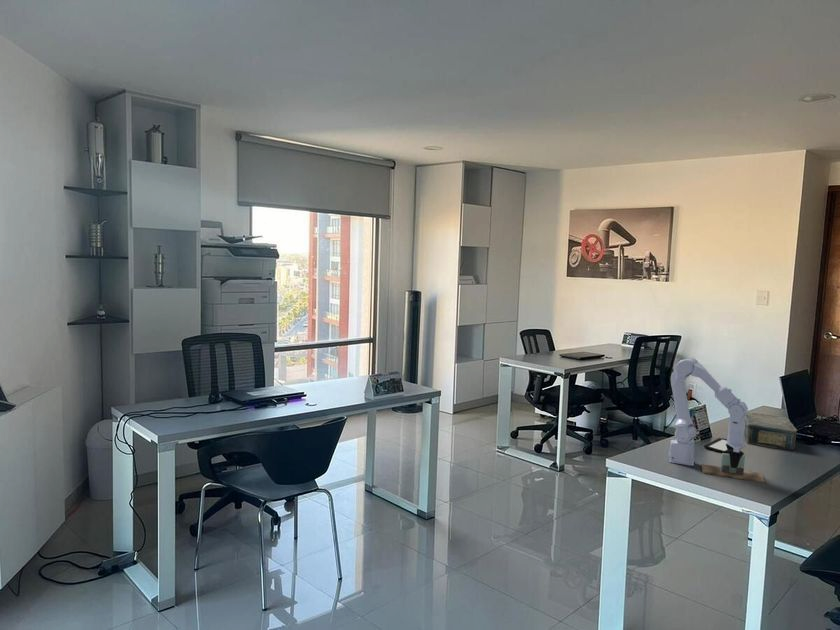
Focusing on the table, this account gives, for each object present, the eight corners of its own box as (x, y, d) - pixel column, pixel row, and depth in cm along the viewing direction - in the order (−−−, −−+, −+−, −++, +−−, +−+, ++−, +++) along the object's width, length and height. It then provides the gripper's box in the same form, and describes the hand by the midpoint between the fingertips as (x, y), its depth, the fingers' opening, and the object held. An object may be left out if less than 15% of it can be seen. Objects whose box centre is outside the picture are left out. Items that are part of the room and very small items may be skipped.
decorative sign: (753, 450, 283) (719, 441, 294) (754, 446, 283) (720, 437, 293) (737, 459, 267) (702, 449, 278) (738, 455, 267) (703, 445, 277)
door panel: (721, 470, 244) (722, 454, 244) (720, 469, 246) (722, 452, 245) (743, 474, 241) (744, 457, 240) (742, 473, 243) (744, 456, 242)
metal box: (744, 444, 290) (746, 424, 290) (740, 429, 320) (742, 410, 319) (796, 452, 282) (798, 431, 281) (786, 435, 311) (788, 416, 310)
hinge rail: (702, 472, 243) (703, 464, 243) (701, 465, 252) (702, 457, 252) (764, 483, 235) (765, 474, 234) (761, 475, 244) (762, 467, 243)
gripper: (749, 438, 234) (746, 472, 235) (745, 429, 247) (742, 461, 248) (729, 435, 236) (725, 468, 238) (726, 426, 250) (723, 458, 251)
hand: (732, 465), depth 243 cm, fingers open, 7 cm apart
